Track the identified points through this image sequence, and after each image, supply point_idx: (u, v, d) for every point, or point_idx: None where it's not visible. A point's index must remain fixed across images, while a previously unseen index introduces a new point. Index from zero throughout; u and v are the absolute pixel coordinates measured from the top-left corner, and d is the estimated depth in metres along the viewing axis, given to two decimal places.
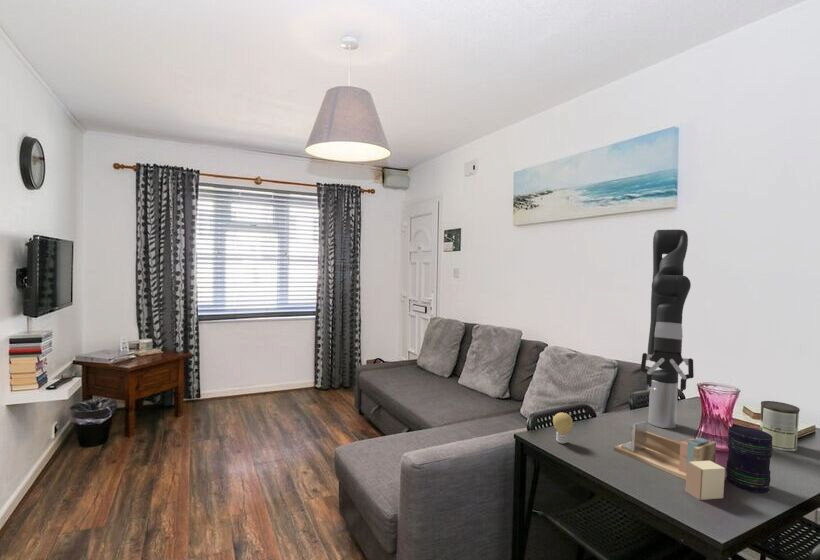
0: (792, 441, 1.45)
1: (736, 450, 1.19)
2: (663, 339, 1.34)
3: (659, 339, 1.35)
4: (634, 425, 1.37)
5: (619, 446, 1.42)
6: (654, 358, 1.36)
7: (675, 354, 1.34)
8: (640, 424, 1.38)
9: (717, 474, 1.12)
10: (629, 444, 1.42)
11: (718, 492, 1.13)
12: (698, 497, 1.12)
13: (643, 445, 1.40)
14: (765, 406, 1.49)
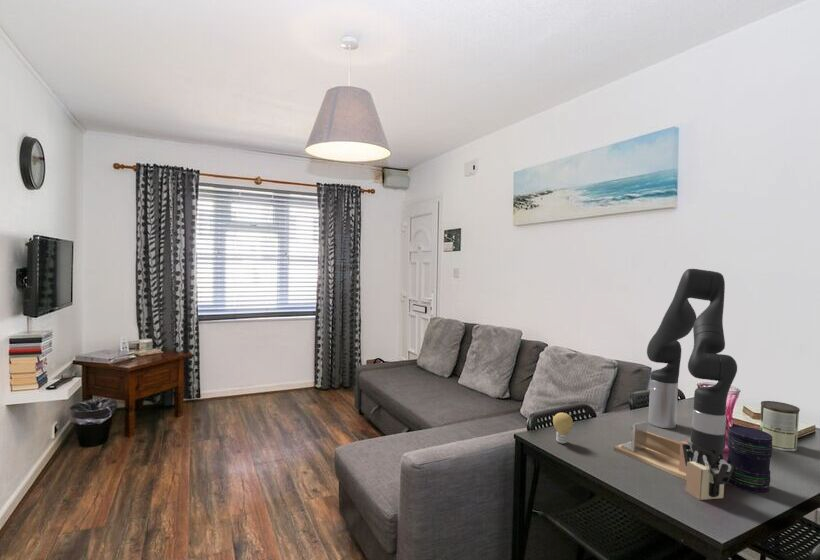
0: (792, 441, 1.45)
1: (736, 450, 1.19)
2: (692, 430, 1.15)
3: (691, 428, 1.16)
4: (634, 425, 1.37)
5: (619, 446, 1.42)
6: (692, 449, 1.17)
7: (710, 450, 1.12)
8: (640, 424, 1.38)
9: None
10: (629, 444, 1.42)
11: None
12: (698, 497, 1.12)
13: (643, 445, 1.40)
14: (765, 406, 1.49)
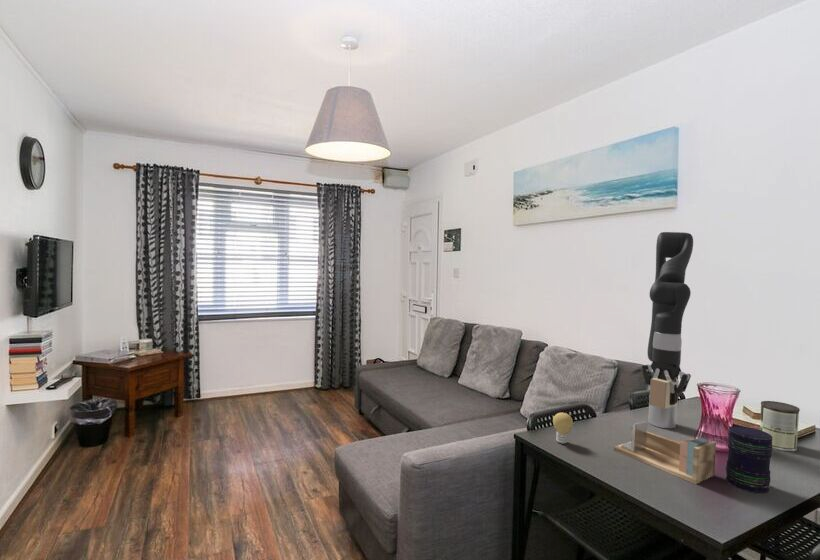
0: (792, 441, 1.45)
1: (735, 450, 1.19)
2: (656, 350, 1.31)
3: (653, 349, 1.32)
4: (634, 425, 1.37)
5: (619, 446, 1.42)
6: (652, 368, 1.34)
7: (671, 365, 1.29)
8: (640, 424, 1.38)
9: None
10: (629, 444, 1.42)
11: None
12: (663, 407, 1.29)
13: (643, 445, 1.40)
14: (765, 406, 1.49)
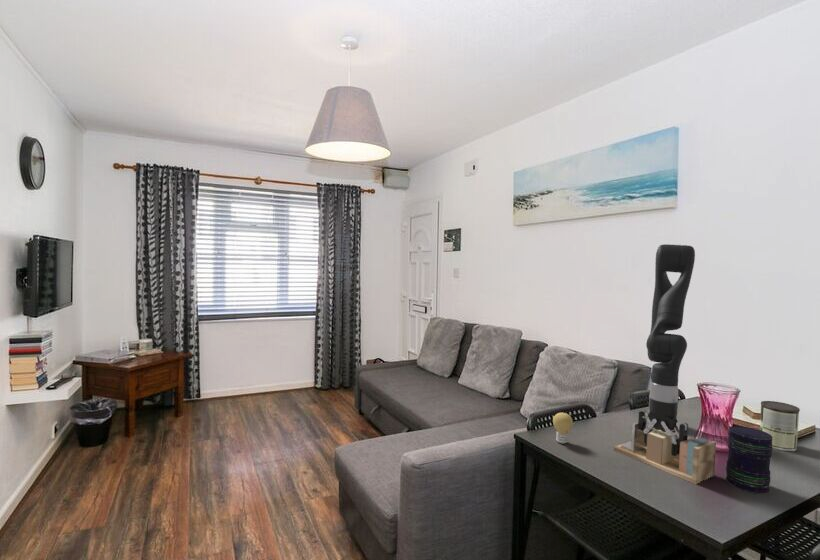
0: (792, 441, 1.45)
1: (735, 450, 1.19)
2: (652, 401, 1.32)
3: (650, 399, 1.33)
4: (634, 425, 1.37)
5: (619, 446, 1.42)
6: (649, 417, 1.35)
7: (667, 417, 1.30)
8: None
9: (671, 440, 1.32)
10: (629, 444, 1.42)
11: (671, 455, 1.32)
12: (659, 462, 1.29)
13: (643, 445, 1.40)
14: (765, 406, 1.49)
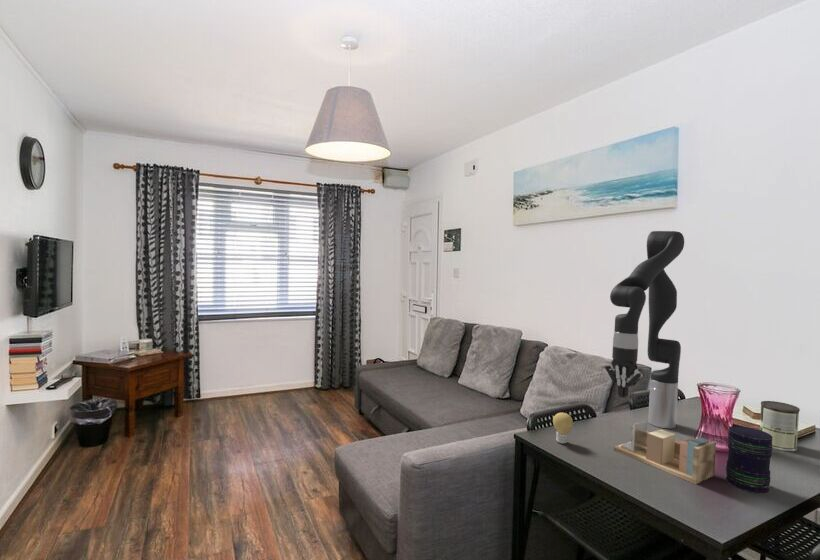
0: (792, 441, 1.45)
1: (735, 450, 1.19)
2: (615, 348, 1.43)
3: (613, 347, 1.44)
4: (634, 425, 1.37)
5: (619, 446, 1.42)
6: (612, 365, 1.46)
7: (628, 362, 1.41)
8: (640, 424, 1.38)
9: (671, 440, 1.32)
10: (629, 444, 1.42)
11: (671, 455, 1.32)
12: (659, 462, 1.29)
13: (643, 445, 1.40)
14: (765, 406, 1.49)
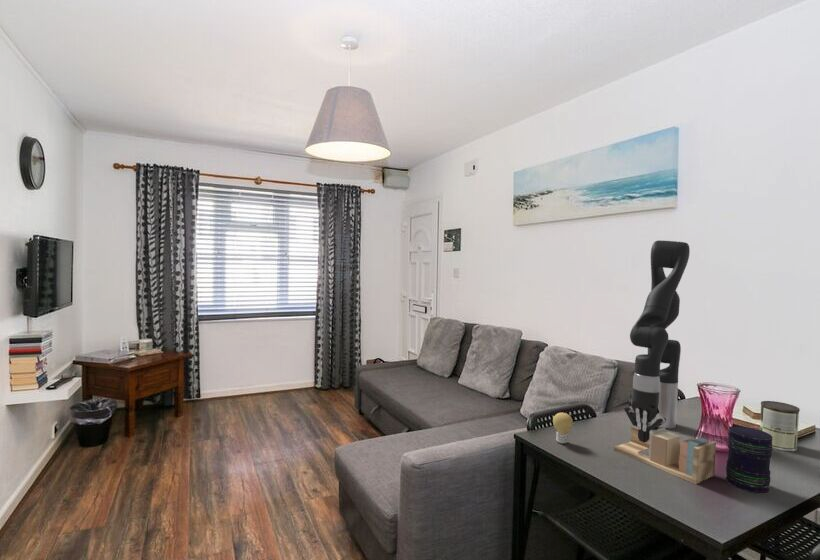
0: (792, 441, 1.45)
1: (735, 450, 1.19)
2: (635, 390, 1.36)
3: (633, 389, 1.38)
4: (652, 431, 1.32)
5: (619, 446, 1.42)
6: (632, 407, 1.40)
7: (649, 406, 1.35)
8: (658, 430, 1.33)
9: (675, 442, 1.30)
10: (646, 451, 1.37)
11: (675, 457, 1.31)
12: (664, 464, 1.28)
13: None
14: (765, 406, 1.49)
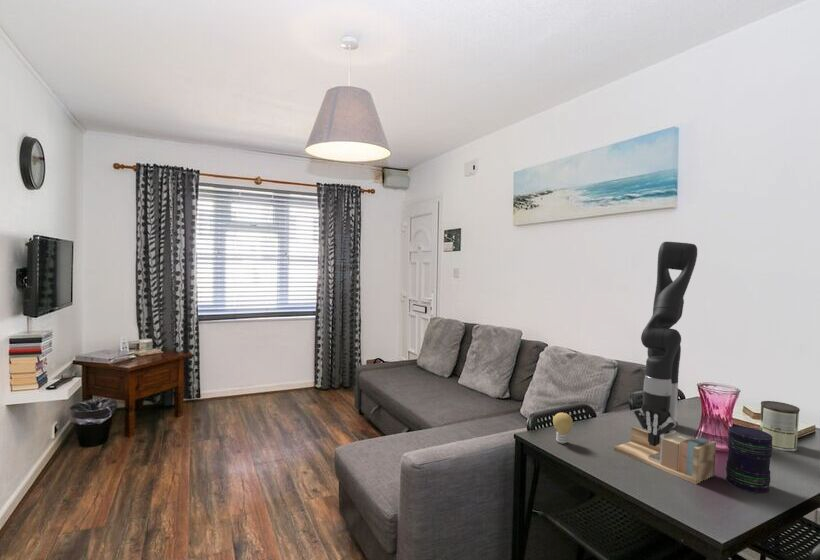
0: (792, 441, 1.45)
1: (735, 450, 1.19)
2: (646, 393, 1.33)
3: (644, 392, 1.35)
4: (663, 435, 1.29)
5: (619, 446, 1.42)
6: (642, 410, 1.37)
7: (660, 409, 1.32)
8: (669, 434, 1.31)
9: None
10: (656, 455, 1.34)
11: None
12: (675, 469, 1.25)
13: None
14: (765, 406, 1.49)
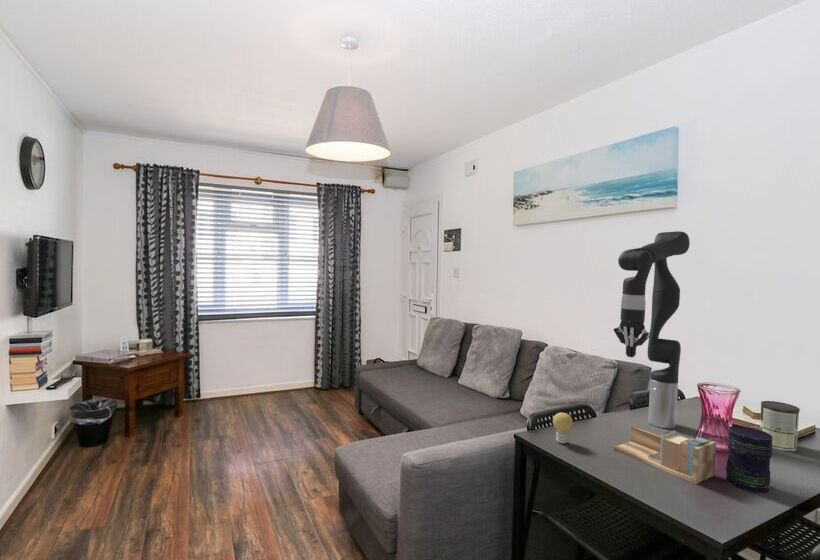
0: (792, 441, 1.45)
1: (735, 450, 1.19)
2: (623, 310, 1.49)
3: (621, 309, 1.51)
4: (663, 435, 1.29)
5: (619, 446, 1.42)
6: (621, 326, 1.53)
7: (636, 323, 1.48)
8: (669, 434, 1.31)
9: None
10: (656, 455, 1.34)
11: None
12: (675, 469, 1.25)
13: None
14: (765, 406, 1.49)
